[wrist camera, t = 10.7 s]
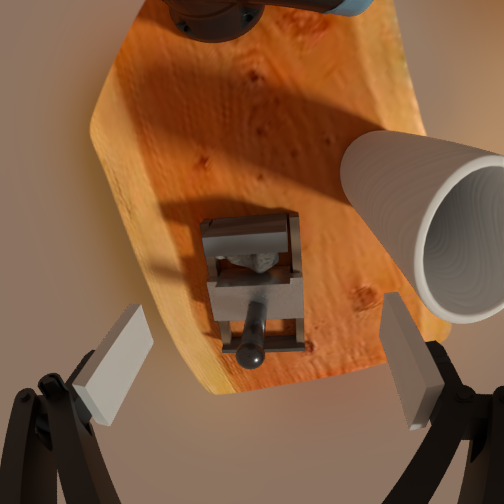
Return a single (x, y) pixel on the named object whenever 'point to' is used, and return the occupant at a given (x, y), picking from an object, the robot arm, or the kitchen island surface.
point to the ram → (255, 304)
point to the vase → (434, 217)
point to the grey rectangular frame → (253, 242)
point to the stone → (254, 261)
